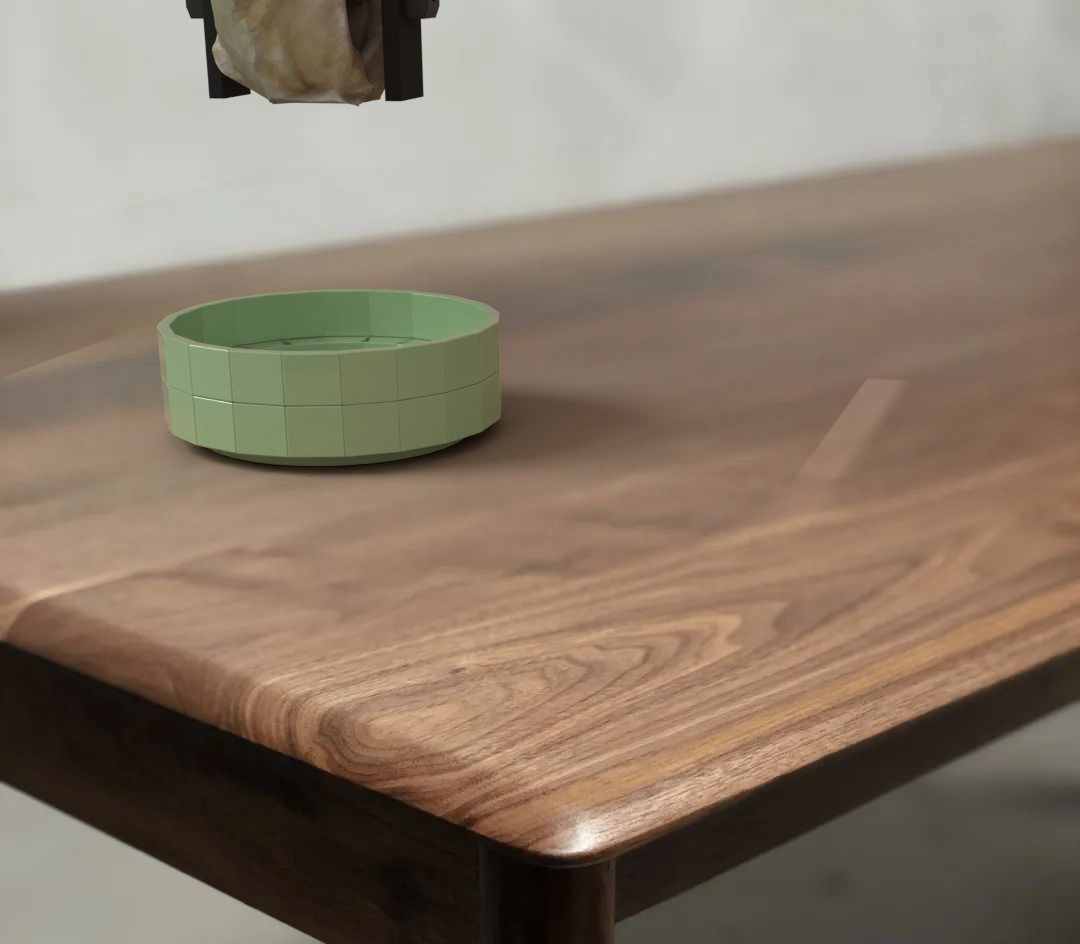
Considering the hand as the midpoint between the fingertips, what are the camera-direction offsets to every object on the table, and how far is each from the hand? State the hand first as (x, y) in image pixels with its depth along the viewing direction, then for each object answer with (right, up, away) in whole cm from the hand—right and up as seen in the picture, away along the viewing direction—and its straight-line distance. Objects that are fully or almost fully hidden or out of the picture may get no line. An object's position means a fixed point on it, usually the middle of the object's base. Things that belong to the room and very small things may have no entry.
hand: (316, 97), depth 84 cm
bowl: (0, -14, +7) cm, 16 cm away
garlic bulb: (0, 0, 0) cm, 1 cm away
